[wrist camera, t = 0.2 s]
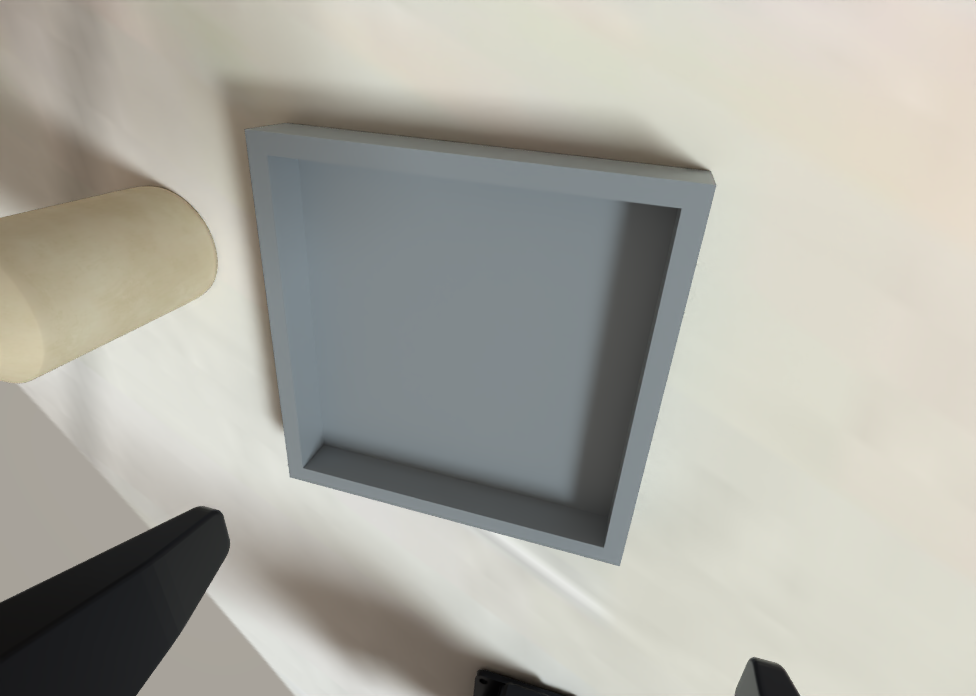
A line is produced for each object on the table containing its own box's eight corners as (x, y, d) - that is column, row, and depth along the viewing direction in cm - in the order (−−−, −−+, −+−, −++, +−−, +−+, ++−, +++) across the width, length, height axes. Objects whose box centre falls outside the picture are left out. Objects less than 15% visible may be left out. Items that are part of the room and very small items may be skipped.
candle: (133, 158, 25) (-151, 208, 16) (234, 234, 25) (8, 323, 16) (109, 252, 28) (-143, 337, 19) (201, 320, 28) (-7, 433, 19)
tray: (623, 524, 26) (619, 566, 24) (317, 447, 29) (289, 477, 27) (710, 171, 18) (716, 185, 16) (286, 122, 22) (244, 129, 20)
